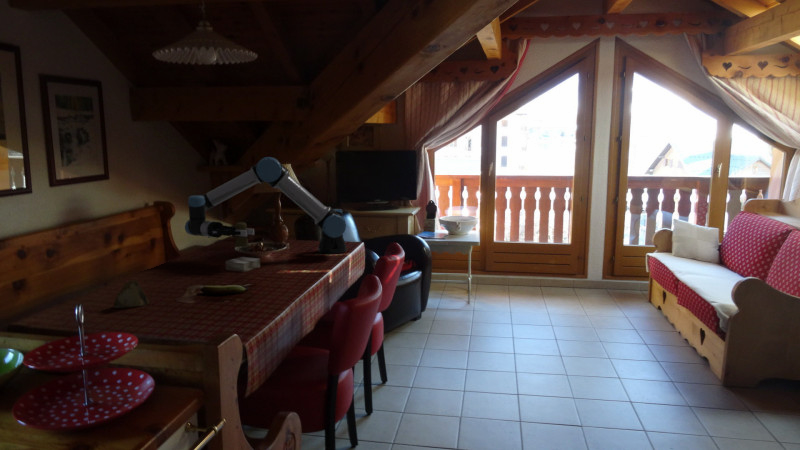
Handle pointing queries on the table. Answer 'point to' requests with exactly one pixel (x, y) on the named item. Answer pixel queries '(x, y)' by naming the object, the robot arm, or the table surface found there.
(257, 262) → the white stand
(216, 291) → the brown green uneven piece
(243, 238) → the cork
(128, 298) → the rock
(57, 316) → the table surface
